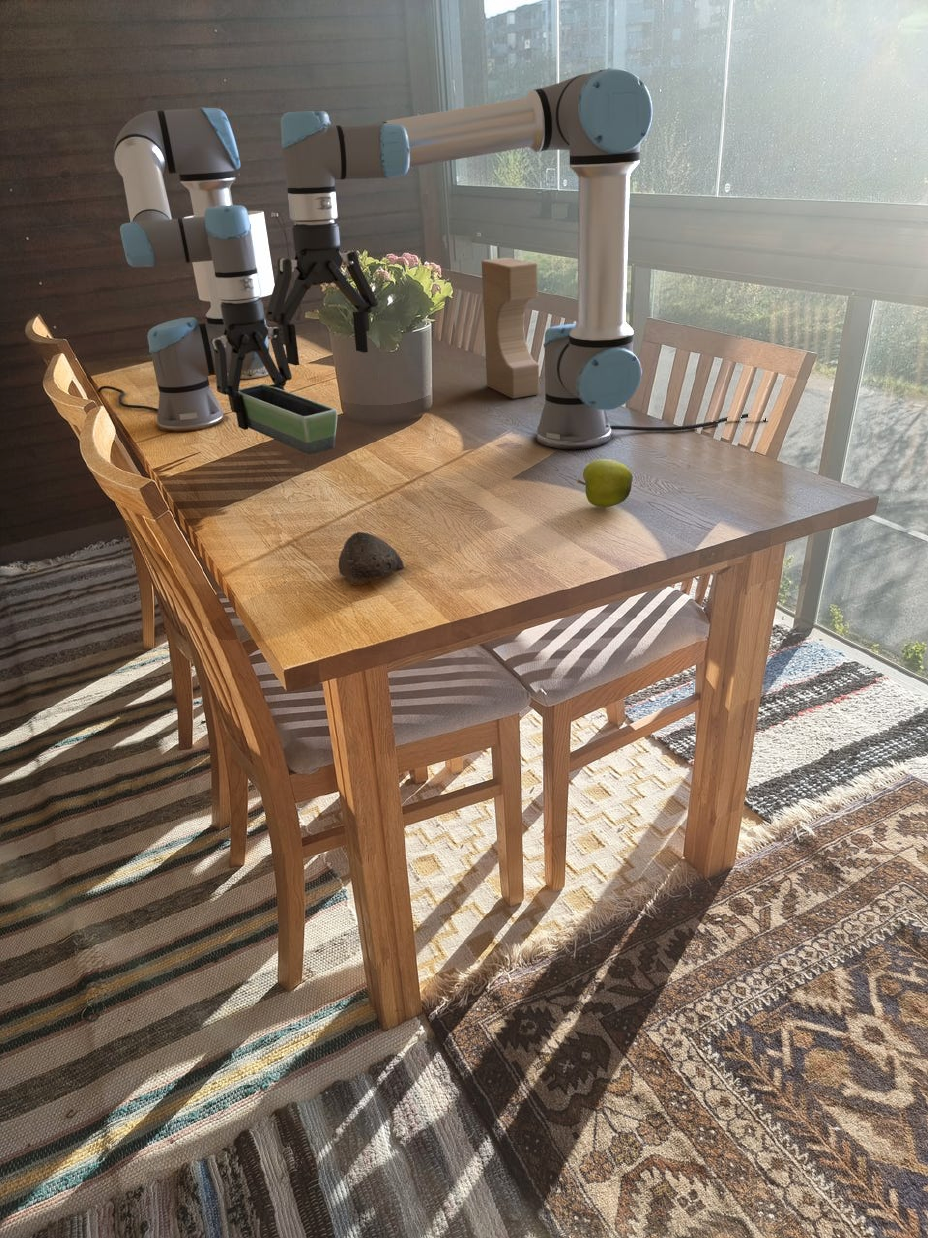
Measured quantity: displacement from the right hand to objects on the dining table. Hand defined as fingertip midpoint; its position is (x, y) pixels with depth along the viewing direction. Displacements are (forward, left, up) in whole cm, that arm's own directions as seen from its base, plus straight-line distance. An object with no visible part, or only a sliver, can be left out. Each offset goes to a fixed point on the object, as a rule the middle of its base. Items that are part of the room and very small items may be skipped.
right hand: (328, 357), depth 151 cm
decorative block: (-62, -40, -25) cm, 78 cm away
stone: (+11, +35, -25) cm, 45 cm away
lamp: (-16, -107, -25) cm, 111 cm away
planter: (+6, -10, -15) cm, 19 cm away
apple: (-33, +34, -25) cm, 54 cm away
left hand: (+8, -21, -15) cm, 26 cm away
